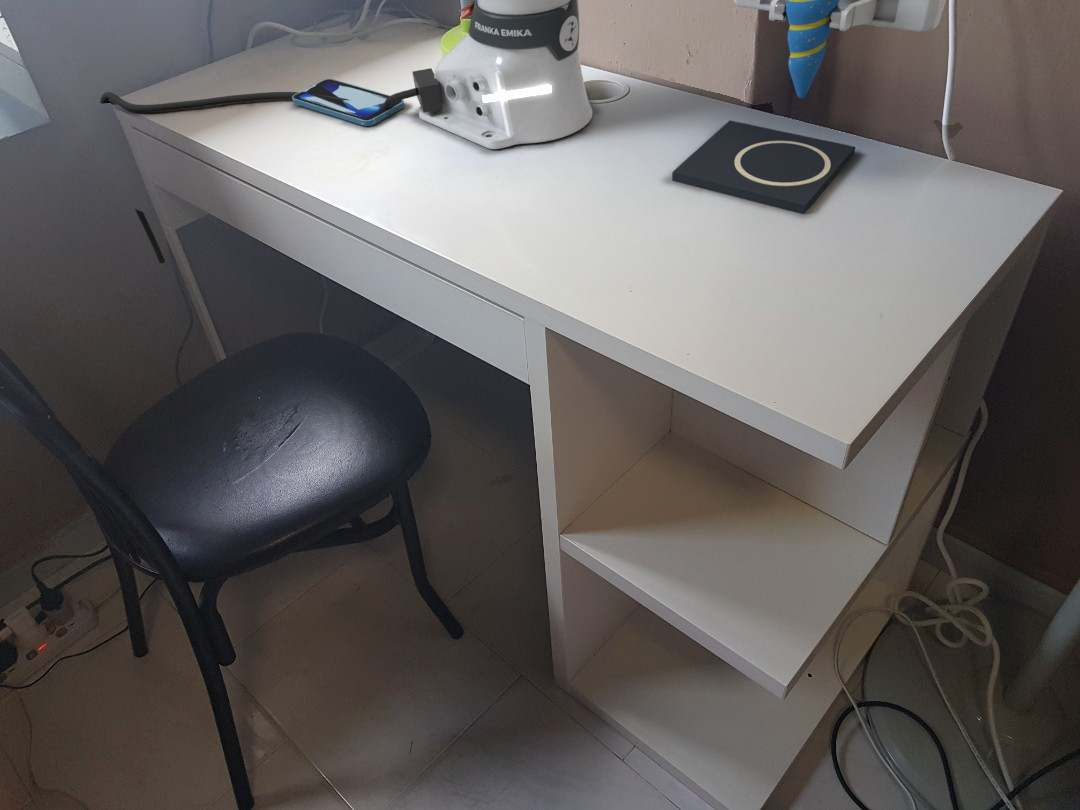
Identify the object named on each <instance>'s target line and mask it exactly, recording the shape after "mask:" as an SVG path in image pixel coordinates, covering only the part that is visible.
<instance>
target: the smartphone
mask: <svg viewBox="0 0 1080 810" xmlns="http://www.w3.org/2000/svg"><path fill="white" fill-rule="evenodd" d="M298 92H299V93H297V94H295V95H293V96H292V99H291V100H292V103H293V104H295V105H297V106H301V107H304V108H307V109H310V110H313V111H316V112H320V113H323V114H325V115H329V116H332V117H336V118H339V119H342V120H345V121H348V122H351V123H354V124H358V125H361V126H365V127H371V126H373V125H375V124H377V123H379V122H381V121H382V120H384V119H386V118H388V117H389V116H391V115H393V114H395V113H397V112H398V111H400V110H402V109H403V108H404V107H405V101H404V99H402V100H399V101H397V102H395V103H393V104H392V105H391V107H390V108H389V109H384V108H381V107H379V106H378V105H382V104H384V102H385V100H386V99H387V98H388V97H389V96H391V95H389V94H386V93H384V92H383V93H382V92H379V91H376V90H373V89H368V88H366V87H362V86H358V85H356V84H351V83H348V82H345V81H340V80H337V79H334V78H325V79H323V80H320V81H319V82H316V83H314V84H313V85H310V86H308V87H306V88H304V89H303V90H301V91H298ZM314 94H317V95H314ZM319 95H325V96H332V97H339V98H345V99H348V100H338V99H333V98H328V97H323V96H319Z"/></svg>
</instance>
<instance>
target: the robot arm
mask: <svg viewBox="0 0 1080 810" xmlns="http://www.w3.org/2000/svg"><path fill="white" fill-rule="evenodd" d="M946 1H947V0H840V1H839V3H838V5H837V7H836V8H834V9H833V10H832V13H831V20H832V21H831V22H830V24H829V29H831V31H832V30H833V31H837V32H838V31H839V32H846V31H847V30H849V29H850V28H851V27H855V26H856V27H857V26H862V25H866V26H873V27H879V28H887V29H892V30H900V31H907V32H913V33H927V32H928V33H929V32H932V31H934V30H935V29H936V28H937V27H938V25H939V24H940V22H941V20H942V16H943V14H944V9H945V5H946ZM733 2H734V3H735V5H736V6H737V7H740V8H747V9H753V10H759V11H760V10H761V11H768V12H769V13H768V20H769V21H772V22H780V23H785V22H786V21H788V17H787V13H786V3H787V0H733ZM579 11H580V10H579V1H578V0H472V1H471V2H470V4H468V5H466V6H464V7H462V8H461V9H459V13H463V12H464V13H463V14H462V15H461V16H460V17H459V18H460V20H462V21H463V20H465V19H467V18H469V17H470V16H471V17H470V22H469V26H468V33H466V34H465V35H464V36H463V37H462V38H461V39H459V41H458V42H457V43H456V44H455V45H454V46H453V47H452V48H451V49H449V51H447V52H446V54H444V55H443V56H442V58H440V60H439V61H438V62H437V64H436V66H435V68H434V71H433V68H431V67H430V68H424V69H419V70H413V71H411V72H412V77H413V83H414V88H410V89H406V90H403V91H399V92H396V93H393V94H391V95H390V96H389V97H388V98H387V99H386V100H385V102H384V104H382V105H378V106H379V107H381V108H384V109H389V108H390V107H391V105H392V104H393V103H395V102H397V101H399V100H402V99H403V100H405V99H410V98H414V97H416V98H417V100H418V102H419V109H418V118H419V119H421V120H422V121H425V122H427V123H428V124H431V125H434V126H436V127H438V128H440V129H443V130H445V131H447V132H450V133H452V134H455V136H459V137H461V138H463V139H466V140H468V141H470V142H473V143H475V144H477V145H480V146H482V147H484V148H486V149H490V150H499V149H500V150H501V149H504V148H508V147H512V146H516V145H522V144H536V143H543V142H550V141H555V140H558V139H561V138H564V137H567V136H570V135H572V134H574V133H576V132H579V131H580V130H582V129H584V128H585V126H587V125H588V124H589V123H590V121H591V120H592V118H593V114H594V113H593V109H592V105H591V102H590V100H589V97H588V93H587V90H586V86H585V85H586V84H585V81H584V77H583V71H582V66H581V58H580V52H579V44H580V43H579V42H580V12H579ZM299 92H300V91H271V92H270V91H269V92H256V93H255V92H254V93H244V94H234V95H225V96H216V97H210V98H202V99H194V100H193V99H192V100H185V101H173V102H166V103H165V102H164V103H155V104H137V103H136V104H135V103H131V102H127V101H126V100H124V99H122V98H121V97H120V96H119V95H117V94H115V93H114V92H112V91H106V92H104V93H103V94H102V95H101V96H100V99H99V103H100V104H102V105H103V104H104V105H105V104H107V103H108V102H109V100H111V101H113V102H114V103H115V104H117V105H118V106H119V107H122V108H123V109H125V110H127V111H130V112H136V113H157V112H167V111H175V110H177V111H178V110H186V109H194V108H195V109H196V108H204V107H211V106H218V105H226V104H233V103H235V104H236V103H244V102H255V101H270V100H292V96H293V95H295V94H297V93H299ZM314 95H317V94H314ZM319 96H323V97H328V98H333V99H338V100H348V99H345V98H339V97H332V96H325V95H319ZM134 210H135V212H136V215H137V216H138V219H139V221H140V223H141V225H142V228H143V229H144V231H145V234H146V235H147V238H148V240H149V242H150V245H151V246H152V249H153V251H154V254H155V256H156V258H157V260H158V263H159V264H165V262H166V259H165V258H164V256H163V253H162V250H161V248H160V246H159V244H158V241H157V239H156V237H155V234H154V233H153V230H152V228H151V226H150V224H149V222H148V219H147V218H146V214H145V213H144V212H143V211H142V210H139V209H137V208H134Z"/></svg>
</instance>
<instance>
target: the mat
mask: <svg viewBox="0 0 1080 810" xmlns="http://www.w3.org/2000/svg"><path fill="white" fill-rule="evenodd" d="M855 153H856V146H854V145H849V144H846V143H840V142H834V141H830V140H825V139H821V138H815V137H812V136H807V135H801V134H797V133H792V132H788V131H783V130H777V129H774V128H769V127H768V128H767V127H763V126H759V125H756V124H755V125H754V124H749V123H744V122H740V121H737V120H731V119H729V120H728V121H727V122H726V123H725V124H724V125H723V126H722V127H720V128H719V130H717V131H716V132H715V133H714V134H712V136H710V137H709V138H708V139H707V140H706V141H705V142H704V143H703V144H701V145H700V146H699V148H697V149H696V150H695V151H694V152H693V153H692V154H691V155H689V156H688V157H687V158H686V159H685V160H684V161H683V162H682V163H681V164H679V165H678V166H677V167H676V168H675V169H674V170H673V171H672V175H671V180H672V181H674V182H678V183H681V184H687V185H690V186H694V187H696V188H701V189H706V190H709V191H713V192H718V193H721V194H724V195H729V196H732V197H737V198H741V199H745V200H749V201H753V202H757V203H761V204H765V205H769V206H772V207H777V208H780V209H784V210H788V211H792V212H796V213H800V214H806V213H807V211H808V210H809V208H810V207H811V206H812V205H813V204H814V203H815V202H816V201H817V199H818V198H819V197H820V195H822V193H823V192H824V191H825V190H826V189H827V188H828V186H829V185H830V184H831V183H832V181H833V180H834V179H835V178H836V177H837V176H838V174H840V172H841V171H842V170H843V169H844V168H845V166H846V165H847V164H848V162H850V160H851V159H852V158H853V157H854V156H855Z"/></svg>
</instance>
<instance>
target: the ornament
mask: <svg viewBox="0 0 1080 810" xmlns="http://www.w3.org/2000/svg"><path fill="white" fill-rule="evenodd" d="M839 1H840V0H787V3H786V13H787V17H788V20H787V21H788V24H789V28H788V30H787V45H788V49H789V54H790V55H789V57H788V63H787V64H788V71H789V74H790V77H791V80H792V83H793V86H794V89H795V93H796V96H797V98H798V99H804V98H805V97H806V96H807V94H808V92H809V90H810V88H811V86H812V84H813V81H814V79H815V77H816V75H817V73H818V71H819V68H820V66H821V64H822V62H823V59H824V57H825V55H826V52H827V51H826V50H827V39H828V37H829V36H830V33H831V31H832V29H829V24H830V22H831V21H832V20H831V13H832V10H833V9H834V8H836V7H837V5H838V3H839Z"/></svg>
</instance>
